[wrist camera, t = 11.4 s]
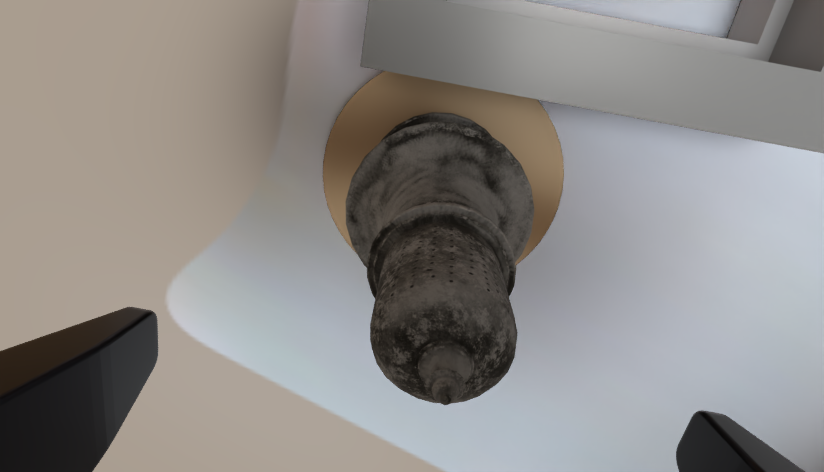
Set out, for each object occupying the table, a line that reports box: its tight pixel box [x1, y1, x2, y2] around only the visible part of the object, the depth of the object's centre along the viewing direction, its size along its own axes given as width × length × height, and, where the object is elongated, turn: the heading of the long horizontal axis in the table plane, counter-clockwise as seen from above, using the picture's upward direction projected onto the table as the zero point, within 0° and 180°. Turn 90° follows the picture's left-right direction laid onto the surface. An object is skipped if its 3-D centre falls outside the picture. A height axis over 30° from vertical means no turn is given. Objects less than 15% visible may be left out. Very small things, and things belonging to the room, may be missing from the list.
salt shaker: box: [346, 112, 534, 405], centre depth 14 cm, size 6×6×12 cm
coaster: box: [323, 71, 564, 265], centre depth 20 cm, size 9×9×1 cm
